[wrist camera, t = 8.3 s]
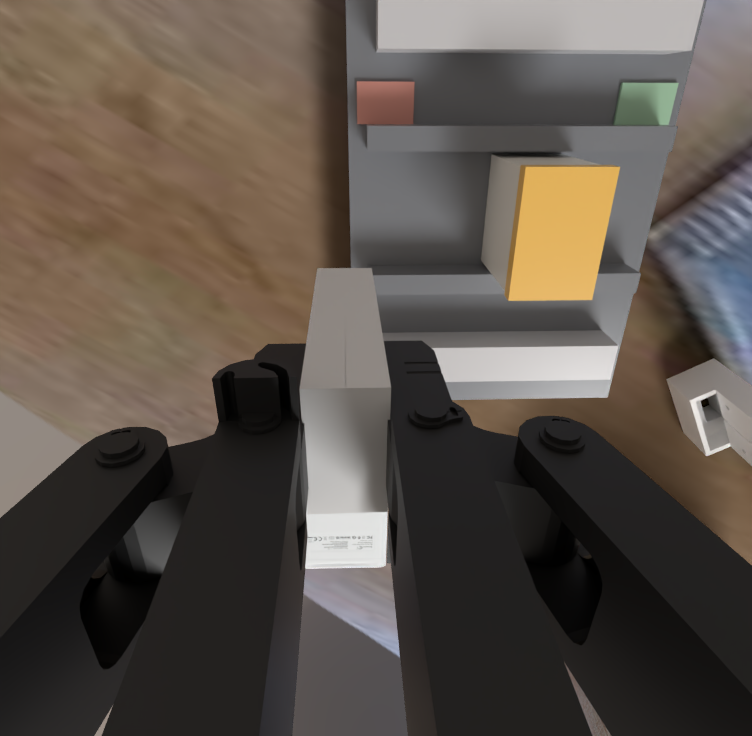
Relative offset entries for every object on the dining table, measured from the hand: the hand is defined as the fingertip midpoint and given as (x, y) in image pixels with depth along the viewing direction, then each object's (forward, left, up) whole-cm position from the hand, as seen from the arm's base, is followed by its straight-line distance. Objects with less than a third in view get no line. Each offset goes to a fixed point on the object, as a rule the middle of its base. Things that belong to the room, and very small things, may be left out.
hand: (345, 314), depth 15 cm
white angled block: (-27, +15, -20) cm, 37 cm away
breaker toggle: (-10, 0, -17) cm, 20 cm away
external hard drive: (+1, +26, -21) cm, 33 cm away
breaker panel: (-9, 0, -20) cm, 22 cm away
